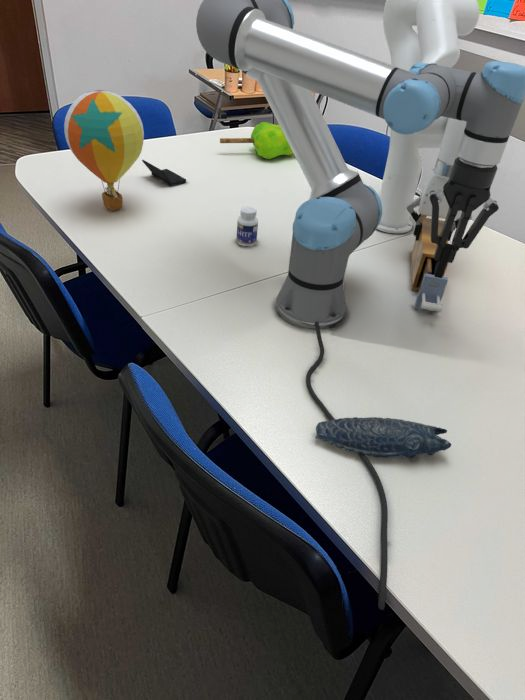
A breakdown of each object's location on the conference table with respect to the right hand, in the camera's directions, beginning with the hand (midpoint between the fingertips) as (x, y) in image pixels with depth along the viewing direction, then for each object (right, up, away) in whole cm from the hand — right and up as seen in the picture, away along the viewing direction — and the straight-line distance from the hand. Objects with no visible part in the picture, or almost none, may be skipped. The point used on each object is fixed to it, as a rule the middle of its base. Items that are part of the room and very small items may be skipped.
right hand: (430, 240), depth 129 cm
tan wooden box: (-2, -8, +1) cm, 8 cm away
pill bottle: (-46, +1, +6) cm, 46 cm away
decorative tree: (-43, +44, +60) cm, 86 cm away
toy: (-84, +12, +16) cm, 86 cm away
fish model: (-23, -43, -45) cm, 66 cm away
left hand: (-5, -12, -21) cm, 25 cm away
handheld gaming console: (-73, +26, +35) cm, 85 cm away
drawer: (-4, -14, -9) cm, 17 cm away
